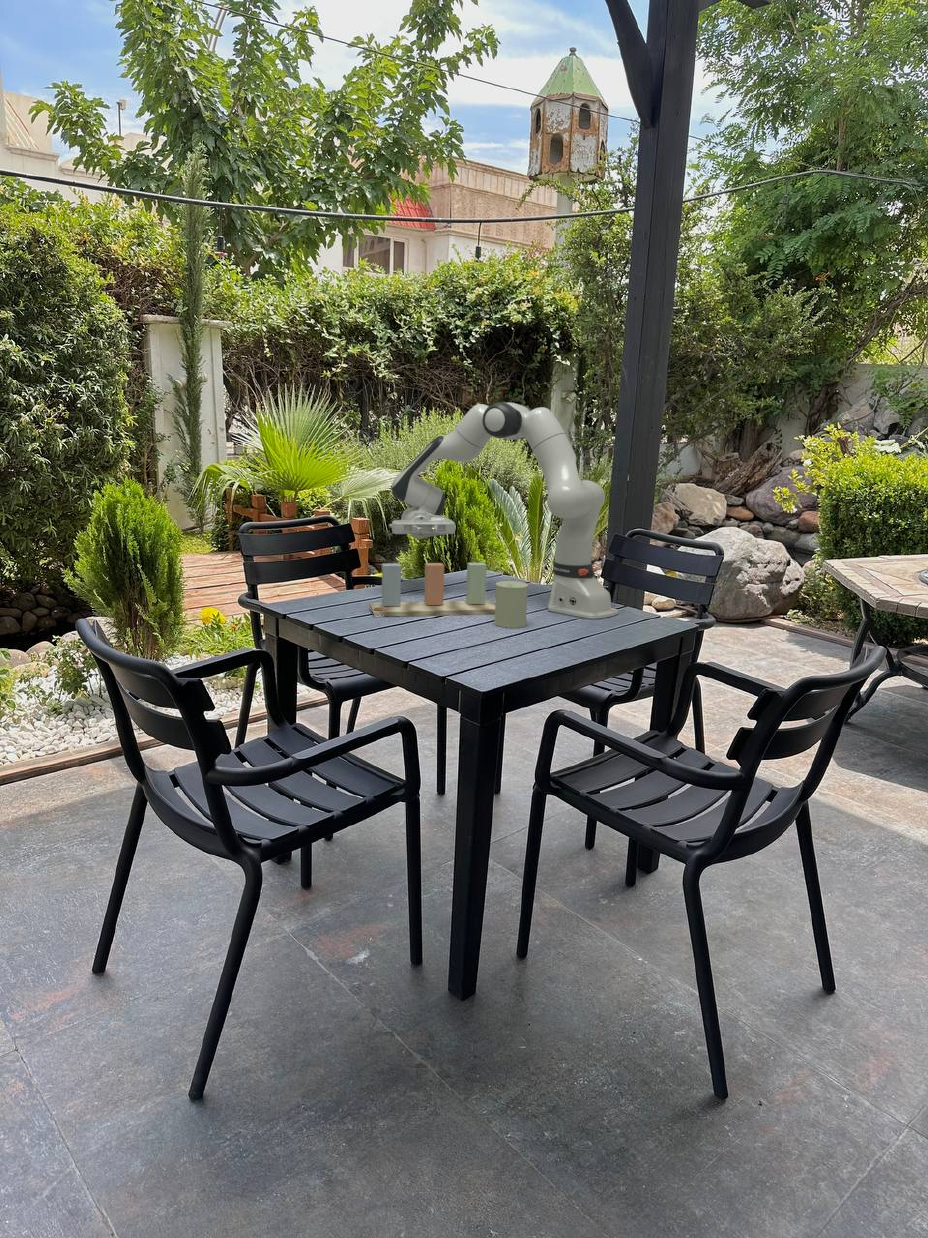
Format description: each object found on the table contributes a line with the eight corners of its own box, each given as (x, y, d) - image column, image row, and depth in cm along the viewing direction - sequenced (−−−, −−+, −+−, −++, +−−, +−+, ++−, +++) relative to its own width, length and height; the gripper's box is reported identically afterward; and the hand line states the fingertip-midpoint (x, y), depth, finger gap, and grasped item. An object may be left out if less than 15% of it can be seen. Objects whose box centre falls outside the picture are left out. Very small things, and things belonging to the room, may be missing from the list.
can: (490, 626, 222) (491, 584, 219) (498, 618, 231) (500, 578, 228) (522, 629, 220) (524, 587, 217) (529, 621, 228) (531, 581, 225)
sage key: (481, 600, 244) (483, 562, 242) (485, 603, 241) (486, 564, 238) (466, 601, 243) (467, 562, 240) (469, 604, 240) (470, 565, 237)
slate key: (398, 602, 239) (398, 563, 236) (400, 605, 235) (400, 565, 232) (381, 603, 237) (382, 563, 234) (383, 606, 234) (383, 566, 231)
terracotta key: (440, 601, 241) (441, 562, 239) (443, 604, 238) (444, 565, 235) (424, 602, 240) (425, 563, 237) (426, 605, 237) (427, 565, 234)
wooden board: (491, 604, 248) (491, 598, 247) (501, 614, 236) (501, 607, 236) (369, 607, 239) (369, 601, 238) (374, 617, 228) (374, 610, 227)
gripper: (388, 514, 256) (394, 520, 243) (449, 515, 261) (459, 520, 248) (387, 534, 258) (394, 540, 245) (449, 534, 262) (458, 540, 249)
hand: (427, 530), depth 246 cm, fingers open, 3 cm apart
